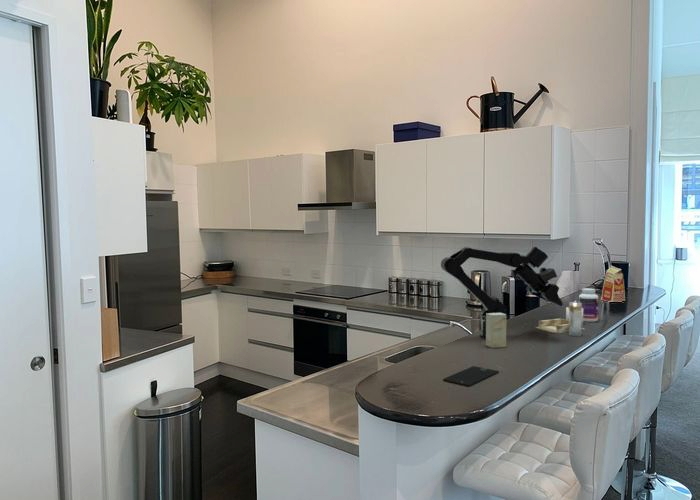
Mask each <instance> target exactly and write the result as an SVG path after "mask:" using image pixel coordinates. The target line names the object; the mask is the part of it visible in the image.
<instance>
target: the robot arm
mask: <svg viewBox="0 0 700 500" xmlns="http://www.w3.org/2000/svg"><path fill="white" fill-rule="evenodd" d="M470 258H472V259H478V260H484V261H491V262H496V263H499V264H501V265H504V266H507V267H511V268H514V269H510V276H511V277H513V278H516V277H517V276H518V277H519V278H520V279H521V280H522V281H523V283H524V284H525V285H527V286H526V291H527V292H528V293H529V294H531V295H532V296H535V297H537V298H540V299H542V300H544V301H546V302H549V303H554V304H555V305H558V306H560V307H562V306H563V302H562V300H561V298H560V296H559V295H558V294H559V293H558V292H559V291H560V286H558V285H557V284H555V283H549V281H550V280H552V279H554V278H557V277H558V275H557V273H556V271H555V269H554V268H545V267H541V266H542V265H543V264H544V263H545V262H546V261H547V259H549V256H548V255H547V253H546V252H544V251H542V250H541V249H540V248H539V247H537V246H533V247H532V248H531V250H530V251H529V252H528V253H527V254H526V255H521V254H520V253H519V252H512V251H499V252H497V251H490V250H489V251H488V250H483V249H477V248H472V247H468V246H464V247H462V248H461V249H460V250H458V251H457V252H455V253H452V255H449V257H448V256H447V257H444V258H442V260H441V262H440V268H441V269H442V270H443V271H444V272H446V273H447V274H449V275H450V276H452V277H453V278H455V279H456V280H457V281H458V282H459V283H460V284H462V286H463V287H464V288H466V289H467V290H468V292H469V293H471V295H472V296H473V297H474V298H476V299H477V300H478V301H479V302H480V304H481V305H482V307H483V309H484V310H485V311H483V313H482V314H481V319H482V320H483V321H482V334H480V335H479V336H480V337H481V338H484V339H486V313H503V314H506V315H507V309H506V308H505V306H506V304H504V303H502V302H501V301H500V299H499V298H498V297H495V296H493V295H492V296H491V297H490V296H489V295H488V294H487V293H486V292H485V291H484V290H483V289H482V288H481V287H480V286H479V285H478V284H477V283H475V281H474V280H473V279H472V278H471V277H470V276H468V274H466V272H465V270H464V269H463V267H462V266H461V265H463V264H464V263H465V262H466V261H467V260H468V259H470ZM540 267H541V268H540ZM535 268H537V269H539V273H538V272H536V270H534V269H535Z"/></svg>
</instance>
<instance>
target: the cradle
mask: <svg viewBox="0 0 700 500" xmlns="http://www.w3.org/2000/svg"><path fill="white" fill-rule="evenodd" d="M534 328H535V329H536V328H537V330H541V331H544V332H548V333H552V334H561V333H563V334H564V333H569V320H566V318H565V319H564V318H553V319H552V318H551V319H544V320H542V319H541V320H538V326H535V327H534ZM581 331H585V328H584V327H583V325H582V323H581Z"/></svg>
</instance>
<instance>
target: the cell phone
mask: <svg viewBox="0 0 700 500" xmlns="http://www.w3.org/2000/svg"><path fill="white" fill-rule="evenodd" d="M499 372H500V371H499V370H496V369H490V368H486V367H481V366H477V365H476V366H475V365H473V366H470V367H468V368H466V369H463V370H460V371H458V372H456V373H453V374H451V375H449V376H447V377H445V378H443V379H442V381H443V382H446V383H450V384H454V385H458V386H459V385H460V386H462V387H468V388H469V387H473V386H474V385H476V384H478V383H481V382H483V381H485V380H487V379H489V378H491V377H493V376H495V375H498V374H499Z"/></svg>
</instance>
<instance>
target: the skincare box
mask: <svg viewBox="0 0 700 500" xmlns="http://www.w3.org/2000/svg"><path fill="white" fill-rule="evenodd" d="M485 346H487V347H489V348H490V349H491V348H506V347H507V313H506V314H503V313H486V338H485Z"/></svg>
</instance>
